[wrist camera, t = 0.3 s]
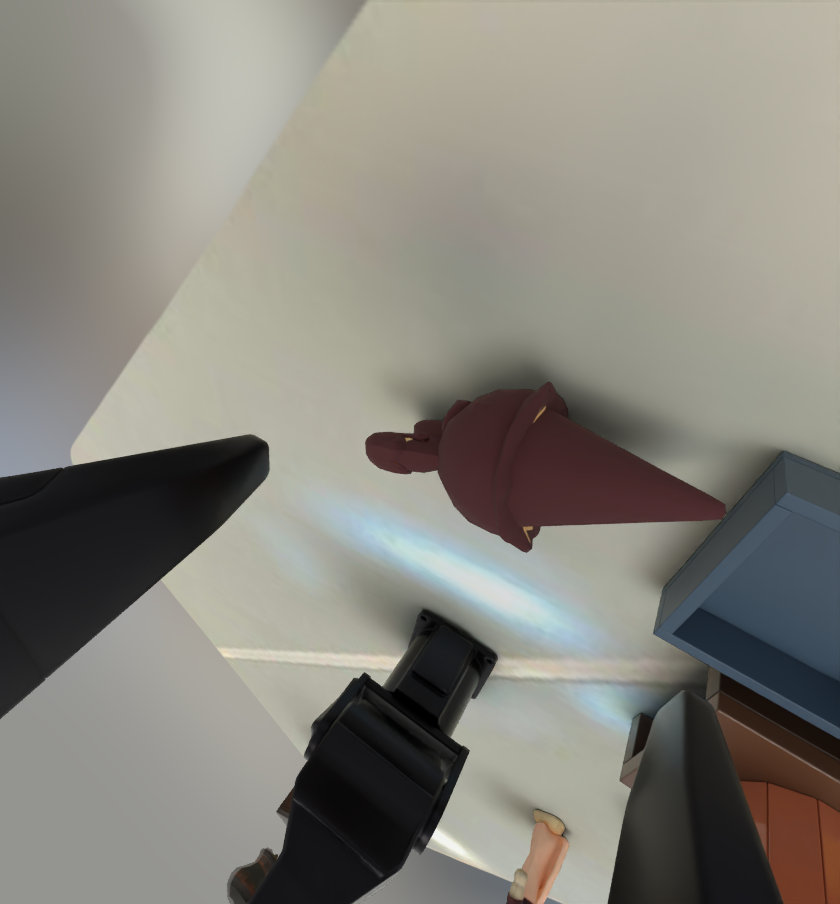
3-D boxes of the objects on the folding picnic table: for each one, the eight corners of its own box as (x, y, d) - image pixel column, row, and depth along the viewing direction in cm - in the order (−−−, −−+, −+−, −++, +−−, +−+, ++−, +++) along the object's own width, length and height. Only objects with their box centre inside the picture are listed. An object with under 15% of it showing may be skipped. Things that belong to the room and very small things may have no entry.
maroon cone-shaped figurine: (743, 430, 13) (344, 370, 21) (688, 656, 15) (348, 521, 23) (756, 394, 18) (434, 357, 26) (714, 564, 20) (430, 481, 29)
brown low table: (842, 852, 26) (852, 939, 24) (632, 719, 30) (618, 781, 27) (1015, 800, 20) (1057, 911, 17) (722, 640, 24) (717, 709, 21)
